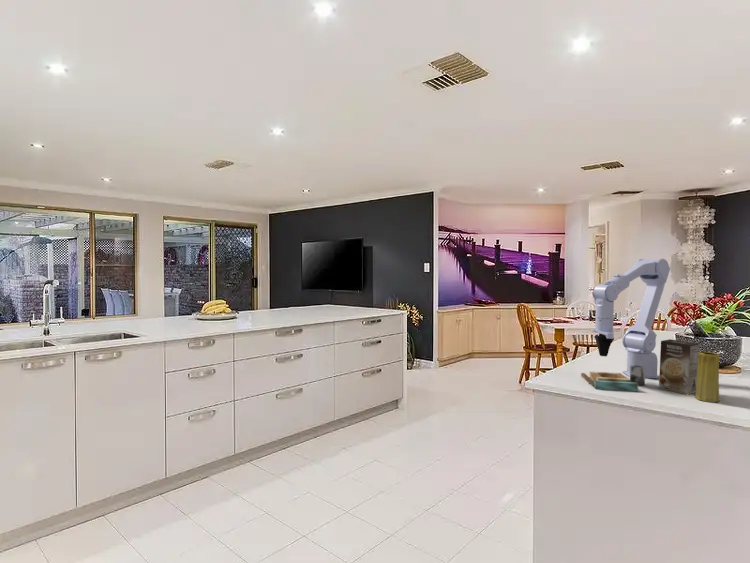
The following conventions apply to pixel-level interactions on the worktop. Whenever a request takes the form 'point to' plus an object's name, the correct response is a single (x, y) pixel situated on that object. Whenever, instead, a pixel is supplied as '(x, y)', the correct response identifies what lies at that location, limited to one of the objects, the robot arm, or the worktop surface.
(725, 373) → the worktop surface
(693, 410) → the worktop surface
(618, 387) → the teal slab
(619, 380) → the wooden tray
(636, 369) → the cylinder
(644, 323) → the robot arm
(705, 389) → the vase
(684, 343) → the coffee box
